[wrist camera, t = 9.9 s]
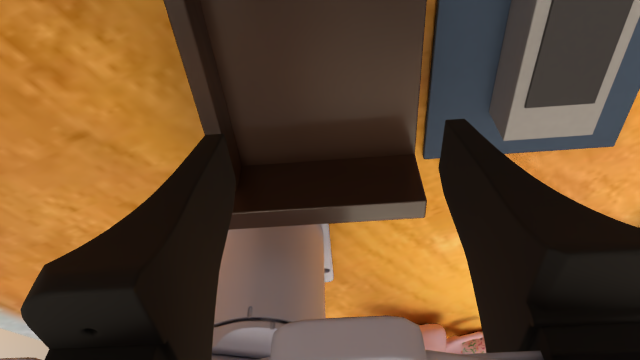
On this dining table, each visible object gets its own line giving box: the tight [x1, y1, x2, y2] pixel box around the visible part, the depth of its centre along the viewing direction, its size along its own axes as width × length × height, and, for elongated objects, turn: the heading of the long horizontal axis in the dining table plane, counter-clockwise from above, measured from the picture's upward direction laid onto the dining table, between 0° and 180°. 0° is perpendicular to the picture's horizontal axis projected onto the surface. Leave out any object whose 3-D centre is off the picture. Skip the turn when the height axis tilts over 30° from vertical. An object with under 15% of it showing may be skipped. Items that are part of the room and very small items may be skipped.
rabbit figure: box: [419, 324, 486, 354], centre depth 38 cm, size 6×6×15 cm
